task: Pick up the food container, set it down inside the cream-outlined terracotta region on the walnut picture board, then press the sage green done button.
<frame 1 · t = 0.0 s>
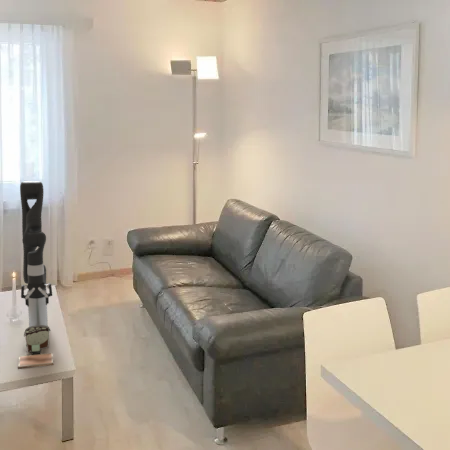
hand: (37, 305, 280), 17 cm above the table, tool pointing down, fingers open, 8 cm apart
food container: (36, 347, 274), on the table
done button: (35, 347, 267), point 3 cm above the table, slide at 0.0 cm
button base: (36, 353, 268), on the table
picture board: (35, 361, 261), on the table
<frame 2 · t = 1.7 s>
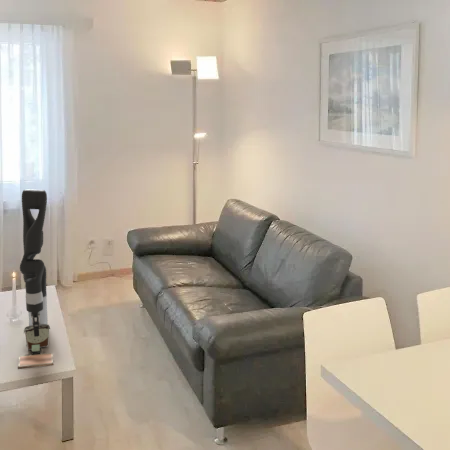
hand: (36, 332, 273), 7 cm above the table, tool pointing down, fingers open, 8 cm apart
food container: (36, 347, 274), on the table, touching gripper
everything else where it was.
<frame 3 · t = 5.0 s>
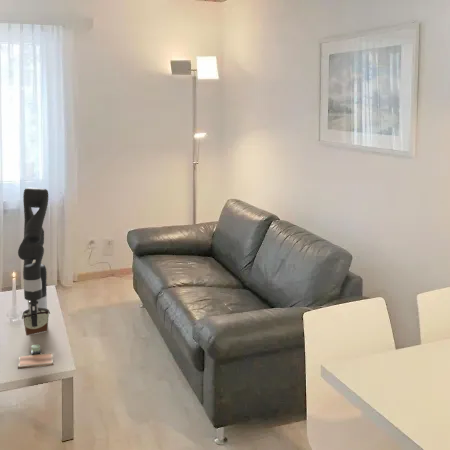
hand: (34, 323, 258), 18 cm above the table, tool pointing down, fingers closed on food container, 7 cm apart
food container: (34, 331, 259), point 13 cm above the table, touching gripper
everything else where it was.
when the fingers open (5 cm above the table, at t = 8.0 s): food container stays where it is, resting on picture board.
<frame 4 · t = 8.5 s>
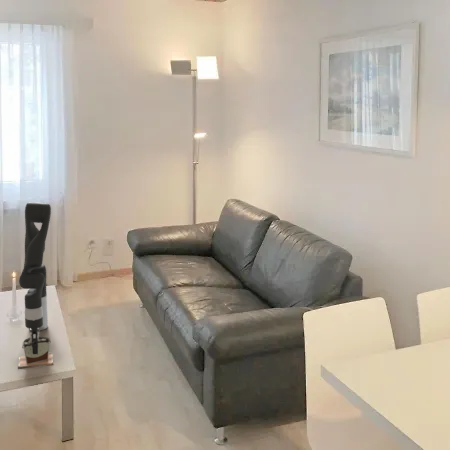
hand: (35, 349, 259), 6 cm above the table, tool pointing down, fingers open, 8 cm apart
food container: (35, 359, 261), resting on picture board
everything else where it was.
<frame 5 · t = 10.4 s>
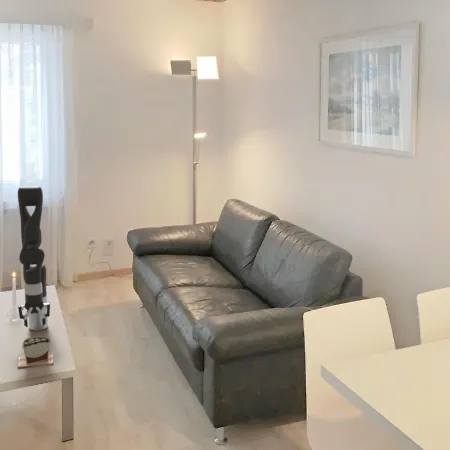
hand: (35, 325, 265), 14 cm above the table, tool pointing down, fingers open, 6 cm apart
nothing on the table moved.
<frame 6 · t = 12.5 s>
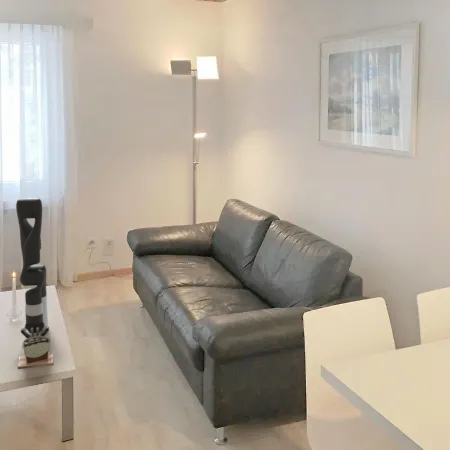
hand: (35, 347, 267), 3 cm above the table, tool pointing down, fingers closed
done button: (35, 348, 267), point 2 cm above the table, slide at 0.4 cm, touching gripper
everything else where it was.
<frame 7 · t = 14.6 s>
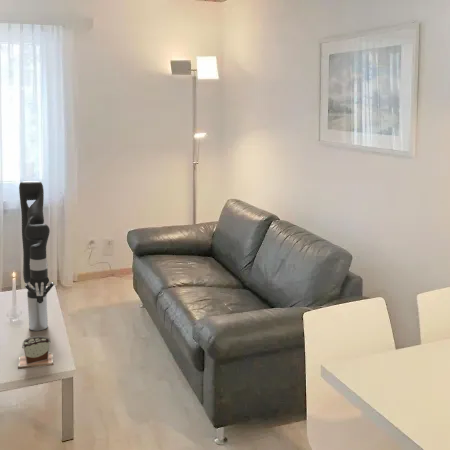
hand: (40, 302, 267), 23 cm above the table, tool pointing down, fingers closed
done button: (35, 349, 268), point 2 cm above the table, slide at 0.9 cm
everything else where it was.
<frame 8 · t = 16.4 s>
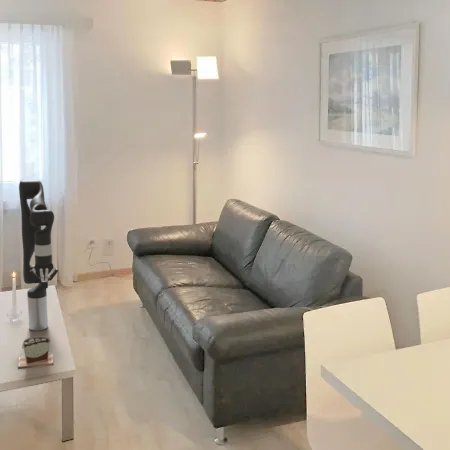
hand: (44, 289, 268), 29 cm above the table, tool pointing down, fingers closed
nothing on the table moved.
at the end: food container 0.5 cm from the target spot, point 0.5 cm above the table; food container tilted 0°; done button slide at 0.9 cm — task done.
